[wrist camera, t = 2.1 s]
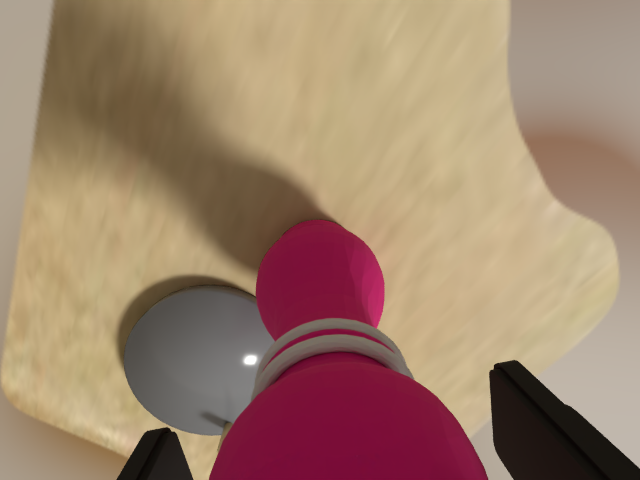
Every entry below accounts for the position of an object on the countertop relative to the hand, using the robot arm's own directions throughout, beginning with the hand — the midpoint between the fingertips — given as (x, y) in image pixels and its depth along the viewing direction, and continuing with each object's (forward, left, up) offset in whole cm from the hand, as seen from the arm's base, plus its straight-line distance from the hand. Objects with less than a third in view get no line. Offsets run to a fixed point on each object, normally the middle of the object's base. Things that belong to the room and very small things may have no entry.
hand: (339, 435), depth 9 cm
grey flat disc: (+5, -9, -14) cm, 17 cm away
